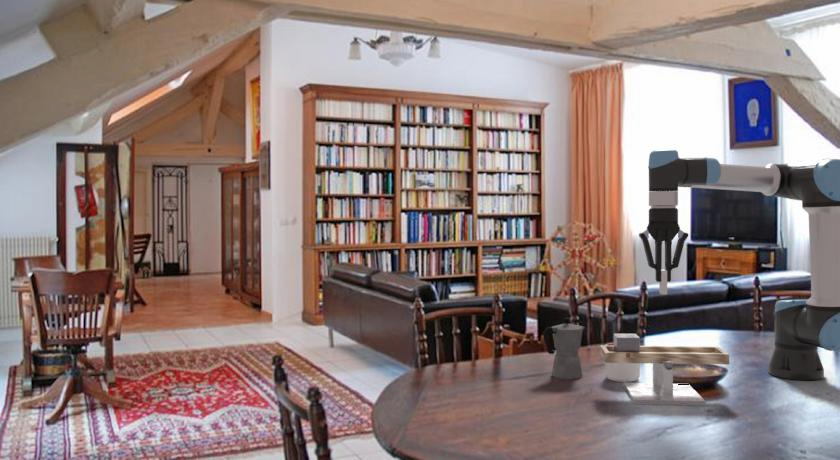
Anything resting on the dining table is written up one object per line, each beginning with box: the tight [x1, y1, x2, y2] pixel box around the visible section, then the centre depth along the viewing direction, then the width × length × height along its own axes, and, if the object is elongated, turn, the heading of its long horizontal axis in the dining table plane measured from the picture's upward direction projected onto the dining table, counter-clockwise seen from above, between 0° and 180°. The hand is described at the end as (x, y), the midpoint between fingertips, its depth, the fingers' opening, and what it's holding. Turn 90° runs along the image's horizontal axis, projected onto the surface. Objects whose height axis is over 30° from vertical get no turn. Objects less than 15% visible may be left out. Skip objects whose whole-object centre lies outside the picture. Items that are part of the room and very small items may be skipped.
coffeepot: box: [542, 317, 586, 380], centre depth 219 cm, size 15×9×18 cm, turn 116°
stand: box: [623, 360, 707, 407], centre depth 196 cm, size 18×18×11 cm
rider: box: [613, 333, 641, 352], centre depth 197 cm, size 6×6×5 cm
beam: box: [599, 344, 730, 365], centre depth 196 cm, size 32×11×4 cm, turn 83°
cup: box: [604, 342, 641, 383], centre depth 215 cm, size 10×10×10 cm
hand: (663, 293), depth 195 cm, fingers closed
